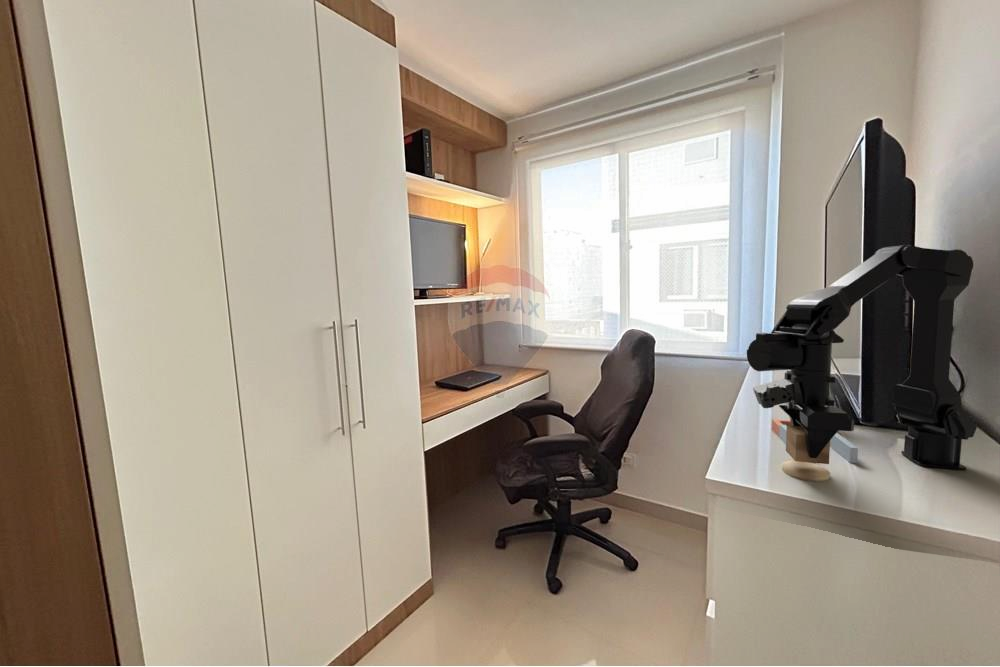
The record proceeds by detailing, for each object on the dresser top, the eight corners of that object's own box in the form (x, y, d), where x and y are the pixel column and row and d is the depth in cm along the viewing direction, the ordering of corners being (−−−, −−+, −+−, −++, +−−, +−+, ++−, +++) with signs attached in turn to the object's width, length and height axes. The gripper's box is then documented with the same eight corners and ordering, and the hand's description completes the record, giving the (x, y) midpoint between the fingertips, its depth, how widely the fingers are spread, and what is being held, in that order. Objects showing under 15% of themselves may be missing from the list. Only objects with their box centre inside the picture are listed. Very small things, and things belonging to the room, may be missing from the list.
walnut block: (817, 453, 75) (818, 427, 75) (828, 464, 70) (830, 436, 70) (785, 450, 77) (786, 425, 76) (795, 461, 72) (796, 434, 72)
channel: (828, 440, 88) (829, 427, 88) (857, 463, 77) (858, 448, 77) (779, 437, 91) (779, 424, 91) (799, 458, 80) (799, 443, 80)
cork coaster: (819, 466, 76) (820, 462, 76) (837, 483, 69) (837, 479, 69) (776, 462, 78) (777, 458, 78) (789, 478, 72) (789, 474, 72)
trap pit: (818, 432, 93) (818, 421, 93) (828, 440, 88) (829, 429, 88) (771, 429, 96) (771, 419, 96) (779, 437, 91) (779, 426, 91)
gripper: (745, 358, 83) (743, 431, 85) (774, 377, 66) (771, 468, 67) (809, 359, 80) (806, 435, 81) (858, 380, 62) (853, 476, 64)
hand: (806, 451), depth 73 cm, fingers closed on walnut block, 5 cm apart
